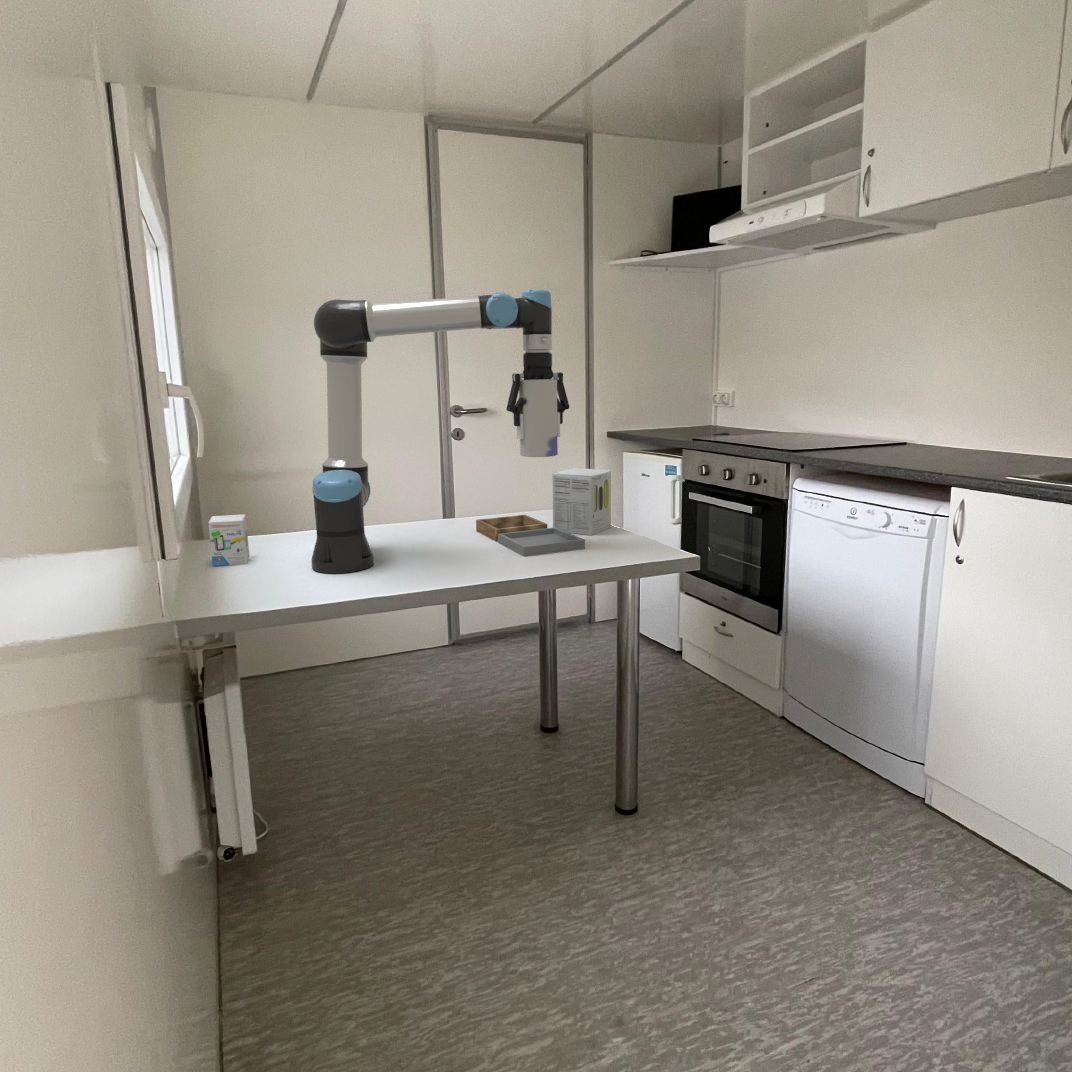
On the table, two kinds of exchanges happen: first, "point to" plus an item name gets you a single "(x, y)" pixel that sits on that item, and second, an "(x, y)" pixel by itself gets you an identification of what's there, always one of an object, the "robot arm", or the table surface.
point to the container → (539, 418)
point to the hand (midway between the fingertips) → (538, 437)
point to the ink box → (229, 540)
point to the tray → (541, 541)
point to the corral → (507, 525)
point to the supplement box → (582, 500)
